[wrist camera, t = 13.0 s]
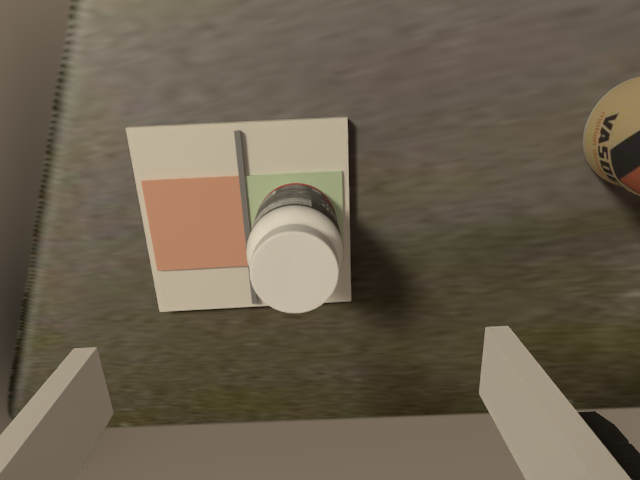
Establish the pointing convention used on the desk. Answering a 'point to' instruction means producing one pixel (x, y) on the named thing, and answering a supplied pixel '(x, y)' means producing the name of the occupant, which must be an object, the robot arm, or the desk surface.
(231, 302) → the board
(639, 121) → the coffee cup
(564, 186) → the desk surface
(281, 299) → the pill bottle
